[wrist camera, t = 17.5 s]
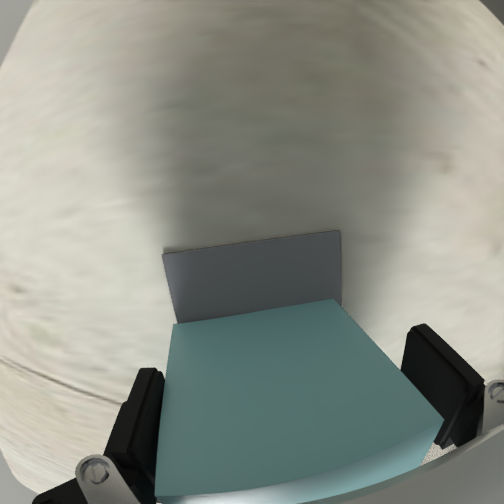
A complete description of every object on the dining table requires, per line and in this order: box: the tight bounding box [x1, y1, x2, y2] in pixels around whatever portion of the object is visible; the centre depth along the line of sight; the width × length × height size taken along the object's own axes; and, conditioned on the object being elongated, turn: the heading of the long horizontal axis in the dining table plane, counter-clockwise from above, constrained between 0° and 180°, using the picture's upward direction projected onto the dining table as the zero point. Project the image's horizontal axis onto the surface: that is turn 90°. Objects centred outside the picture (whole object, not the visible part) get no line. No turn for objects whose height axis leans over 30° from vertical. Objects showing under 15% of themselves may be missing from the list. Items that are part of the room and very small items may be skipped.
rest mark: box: [162, 230, 341, 324], centre depth 14 cm, size 8×8×1 cm
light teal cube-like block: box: [155, 299, 444, 504], centre depth 10 cm, size 8×8×9 cm
